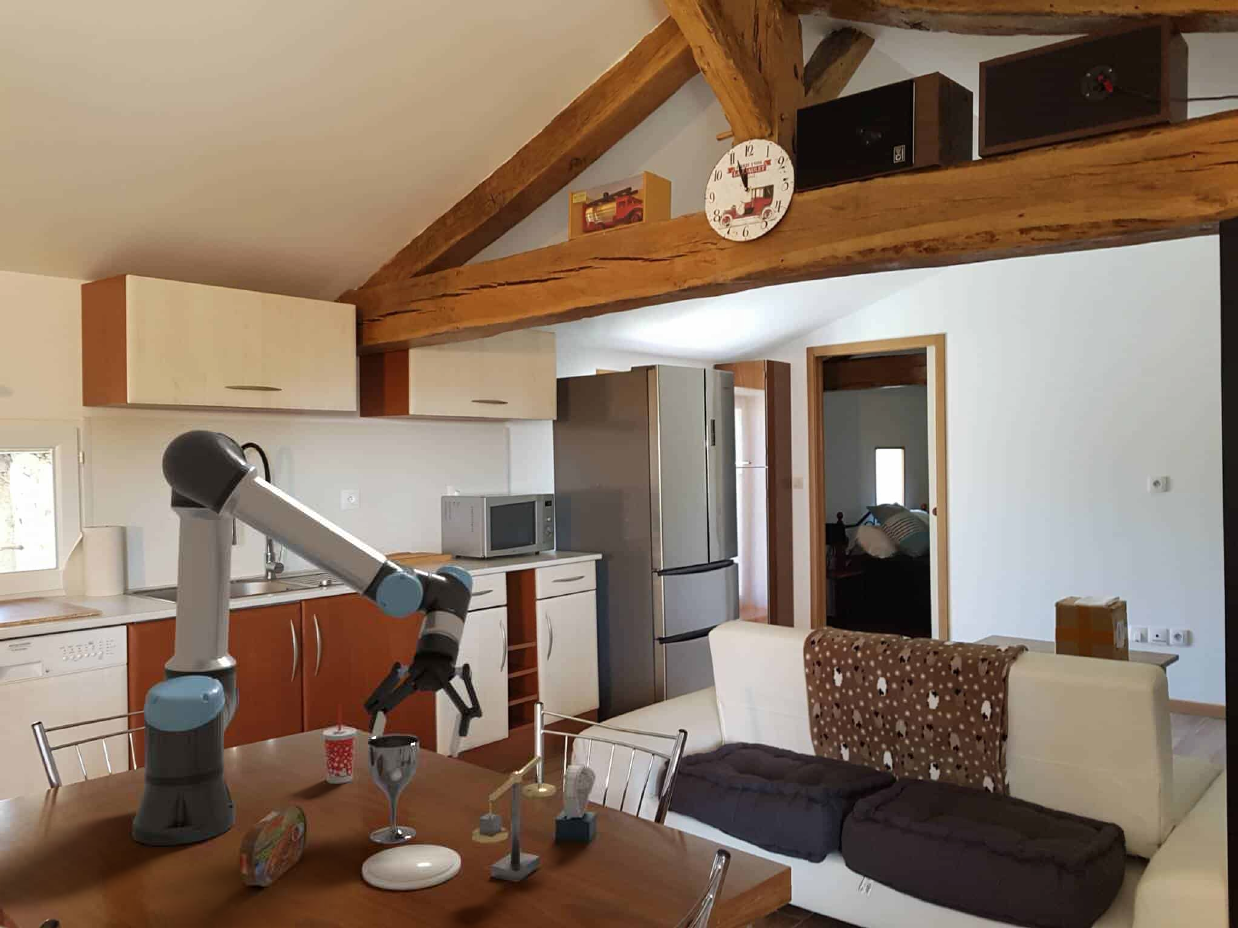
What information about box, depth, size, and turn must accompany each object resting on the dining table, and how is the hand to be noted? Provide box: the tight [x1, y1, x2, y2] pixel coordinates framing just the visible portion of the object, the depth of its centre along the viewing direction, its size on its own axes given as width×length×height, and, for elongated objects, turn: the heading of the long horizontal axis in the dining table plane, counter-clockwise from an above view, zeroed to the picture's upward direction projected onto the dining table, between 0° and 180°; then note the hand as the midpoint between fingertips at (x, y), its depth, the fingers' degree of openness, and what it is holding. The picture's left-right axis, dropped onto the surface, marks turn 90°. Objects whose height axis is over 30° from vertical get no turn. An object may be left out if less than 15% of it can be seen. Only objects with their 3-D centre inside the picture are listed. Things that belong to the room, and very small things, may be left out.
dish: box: [361, 844, 462, 891], centre depth 140 cm, size 14×14×1 cm
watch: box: [555, 763, 597, 843], centre depth 153 cm, size 6×8×11 cm
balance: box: [471, 755, 557, 883], centre depth 140 cm, size 18×5×15 cm, turn 153°
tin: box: [238, 805, 308, 887], centre depth 139 cm, size 15×3×8 cm, turn 171°
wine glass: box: [367, 733, 420, 845], centre depth 153 cm, size 8×8×15 cm
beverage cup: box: [322, 704, 357, 784], centre depth 181 cm, size 6×6×14 cm
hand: (412, 752), depth 159 cm, fingers open, 13 cm apart
